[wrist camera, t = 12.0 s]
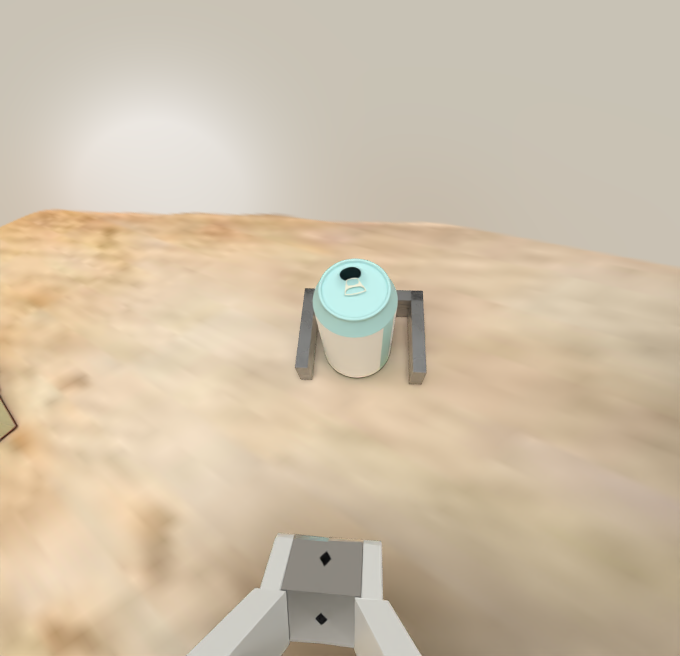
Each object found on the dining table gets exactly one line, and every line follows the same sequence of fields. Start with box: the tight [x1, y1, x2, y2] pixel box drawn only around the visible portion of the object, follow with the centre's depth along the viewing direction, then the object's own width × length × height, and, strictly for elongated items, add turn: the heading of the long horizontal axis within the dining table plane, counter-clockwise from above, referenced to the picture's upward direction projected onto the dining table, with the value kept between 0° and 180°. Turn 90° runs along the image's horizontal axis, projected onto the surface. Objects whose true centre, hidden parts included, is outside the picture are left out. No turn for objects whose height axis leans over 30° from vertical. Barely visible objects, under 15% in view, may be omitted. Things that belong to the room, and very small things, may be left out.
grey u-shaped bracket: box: [295, 288, 426, 384], centre depth 38 cm, size 9×12×4 cm
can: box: [313, 259, 398, 378], centre depth 34 cm, size 7×7×12 cm
